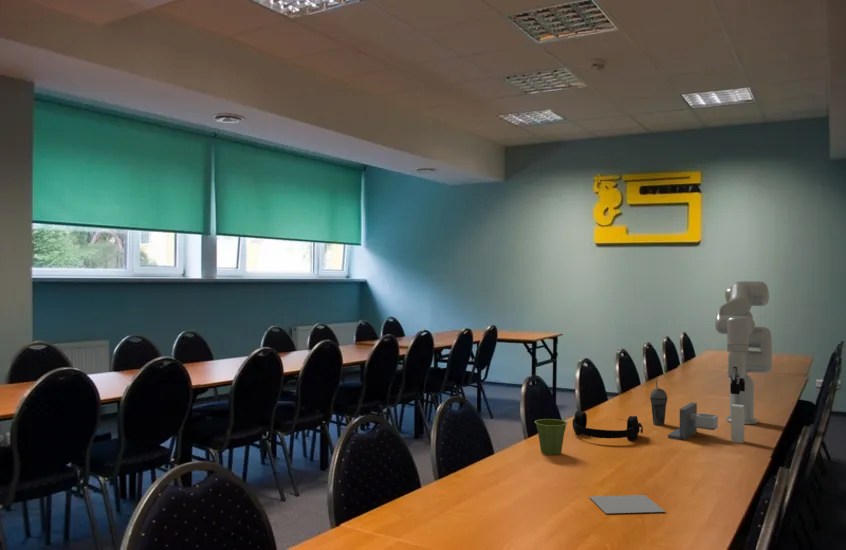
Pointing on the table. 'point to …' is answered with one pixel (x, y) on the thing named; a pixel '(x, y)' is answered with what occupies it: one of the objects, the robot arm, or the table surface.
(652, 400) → the beverage cup
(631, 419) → the headset
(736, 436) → the rail
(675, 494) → the table surface
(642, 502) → the grey flat square slab
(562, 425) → the plant pot
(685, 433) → the bracket
